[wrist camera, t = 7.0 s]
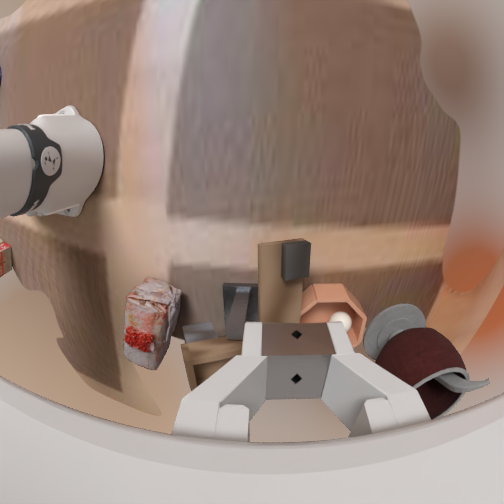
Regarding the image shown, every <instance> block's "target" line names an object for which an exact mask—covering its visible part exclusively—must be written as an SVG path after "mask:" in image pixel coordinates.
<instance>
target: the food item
mask: <svg viewBox="0 0 504 504" xmlns="http://www.w3.org/2000/svg"><path fill="white" fill-rule="evenodd" d="M180 301H181V289H176V288H174V287H173V286H171V285H169V284H168V283H167V282H164V281H159V280H156V279H153V278H149V277H147V278H146V279H145V280H144V281H143V282H142V283H141V284H139V285H138V286H137V287H134V290H132V291H131V292H130V293H129V295H128V296H127V297H126V309H125V321H124V325H125V327H124V330H123V332H124V339H123V340H124V352H123V354H124V355H125V356H126V358H127V359H128V360H129V361H131V362H133V363H135V364H137V365H138V366H142V367H144V368H147V369H150V370H157V368H158V366H159V365H160V363H161V362H162V360H163V358H164V355H165V354H166V352H167V349H168V348H169V344H170V339H171V335H172V334H173V332H174V330H175V325H176V324H177V318H178V315H179V311H180Z"/></svg>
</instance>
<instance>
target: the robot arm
mask: <svg viewBox="0 0 504 504" xmlns="http://www.w3.org/2000/svg"><path fill="white" fill-rule="evenodd" d="M103 160H104V154H103V145H102V141H101V138H100V135H99V133H98V131H97V130H96V128H95V127H94V126H93V125H92V124H91V123H90V122H89V121H87V120H86V119H84V118H82V117H81V116H80V115H79V113H78V111H77V110H76V108H75V107H74V106H66V107H65V108H63V109H61V110H60V111H58V112H57V113H55V114H44V115H39V116H38V118H36V119H35V120H33V121H32V122H31V123H30V124H18V125H13V126H10V127H8V128H7V129H0V219H2V218H4V217H7V216H9V215H10V216H17V215H23V214H27V216H35V215H37V216H44V215H45V216H46V215H50V214H54V213H55V214H60V215H65V216H70V217H75V216H78V215H79V214H80V213H81V211H82V208H83V205H84V202H85V200H86V199H87V198H88V197H89V196H90V194H91V193H92V192H93V191H94V189H95V188H96V186H97V184H98V182H99V179H100V177H101V173H102V169H103ZM69 208H70V210H69ZM310 398H321V400H322V401H323V402H324V403H325V404H326V405H327V407H328V408H329V409H330V410H331V411H332V412H333V413H334V414H335V415H336V416H337V417H338V418H339V419H340V420H341V422H342V423H343V424H344V425H345V426H346V427H347V428H348V429H349V430H350V431H351V433H350V435H349V437H348V438H341V439H332V440H323V441H308V442H287V443H286V442H285V443H259V442H257V443H255V442H249V421H250V420H251V419H252V417H253V416H254V415H255V413H256V412H257V411H258V410H259V408H260V407H261V406H262V404H263V403H264V402H265V400H269V399H310ZM0 504H504V393H502V394H500V395H498V396H496V397H493V398H491V399H489V400H486V401H484V402H482V403H479V404H477V405H474V406H472V407H469V408H466V409H464V410H461V411H458V412H455V413H452V414H449V415H446V416H443V417H440V418H437V419H434V420H431V418H430V416H429V414H428V412H427V410H426V408H425V405H424V403H423V401H422V399H421V397H420V395H419V393H418V391H417V390H416V389H414V388H413V387H411V386H410V385H408V384H407V383H405V382H403V381H402V380H400V379H399V378H397V377H396V376H394V375H392V374H391V373H389V372H388V371H386V370H385V369H383V368H382V367H380V366H378V365H377V364H375V363H374V362H372V361H371V360H369V359H368V358H366V357H365V356H363V355H362V354H360V353H355V352H354V350H353V347H352V345H351V342H350V340H349V337H348V335H347V332H346V330H345V327H344V325H343V323H342V322H341V321H334V322H322V323H275V322H263V323H262V322H246V323H245V327H244V336H243V344H242V353H241V355H236V356H235V357H234V358H232V359H231V360H230V361H229V362H228V363H226V364H225V365H224V366H223V367H222V368H220V369H219V370H218V371H217V372H215V373H214V374H213V375H212V376H210V377H209V378H208V379H207V380H205V381H204V382H203V383H202V384H200V385H199V386H198V387H197V388H195V389H194V390H193V391H191V392H190V393H189V394H187V395H186V396H185V397H184V398H182V401H181V405H180V407H179V411H178V414H177V417H176V421H175V424H174V428H173V431H172V434H166V433H161V432H156V431H151V430H146V429H141V428H137V427H133V426H129V425H125V424H121V423H117V422H113V421H110V420H106V419H103V418H99V417H96V416H93V415H90V414H87V413H84V412H81V411H78V410H75V409H72V408H70V407H67V406H64V405H62V404H59V403H57V402H54V401H52V400H49V399H47V398H45V397H42V396H40V395H38V394H35V393H33V392H31V391H29V390H27V389H25V388H23V387H21V386H18V385H17V384H15V383H12V382H11V381H9V380H7V379H5V378H3V377H1V376H0Z"/></svg>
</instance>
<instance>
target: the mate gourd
mask: <svg viewBox="0 0 504 504" xmlns="http://www.w3.org/2000/svg"><path fill="white" fill-rule="evenodd" d="M425 324H426V322H425V317H424V315H423V313H422V312H421V311H420V309H419V308H417V307H416V306H414V305H411V304H397V305H394V306H391V307H389V308H387V309H385V310H383V311H382V312H380V313H379V314H378V315H377V316H376V317H375V318H374V319H373V320H372V321H371V322H370V324H369V325H368V327H367V329H366V331H365V334H364V338H363V345H364V348H365V351H366V353H367V354H368V356H370V357H371V358H372V359H374V360H376V362H375V364H377V365H378V366H380V367H382V368H383V369H385V370H386V371H388V372H389V373H391V374H392V375H394V376H396V377H397V378H399V379H400V380H402V381H403V382H405V383H407V384H408V385H410V386H411V387H413V388H414V389H416V390H417V391H418V393H419V395H420V397H421V399H422V401H423V403H424V405H425V408H426V410H427V412H428V414H429V416H430V418H431V420H434V419H437V418H440V417H442V416H443V415H445V414H446V413H447V412H449V411H450V410H451V409H452V408H453V407H454V406H455V405H456V404H457V403H458V402H459V401H460V399H461V398H462V397H463V395H464V394H465V392H470V391H473V390H475V389H479V388H482V387H484V386H486V385H488V384H489V383H490V382H489V379H486V380H485V381H469V374H468V373H467V372H466V368H465V365H464V362H463V360H462V358H461V356H460V354H459V353H458V351H457V350H456V349H455V347H454V346H453V345H452V343H451V342H450V341H449V340H448V339H447V338H446V337H445V336H443V335H442V334H441V333H439V332H437V331H436V330H434V329H432V328H425Z"/></svg>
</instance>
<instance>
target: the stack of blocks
mask: <svg viewBox="0 0 504 504" xmlns="http://www.w3.org/2000/svg"><path fill="white" fill-rule="evenodd" d="M10 270H12V261H11V246H9V245H8V244H6V243H5V242H4V241H3V240H1V239H0V277H1V276H3V275H4V274H6V273H7V272H9V271H10Z"/></svg>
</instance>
